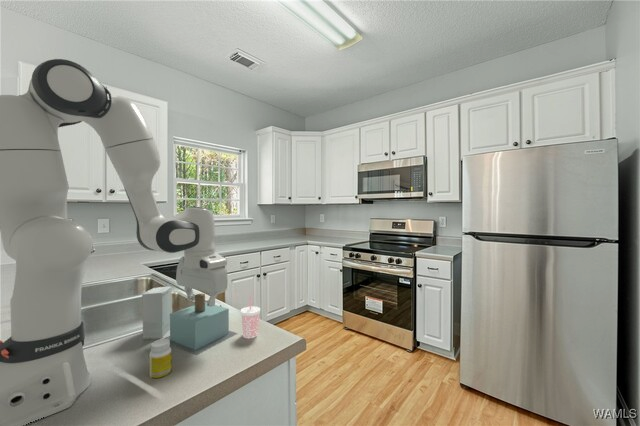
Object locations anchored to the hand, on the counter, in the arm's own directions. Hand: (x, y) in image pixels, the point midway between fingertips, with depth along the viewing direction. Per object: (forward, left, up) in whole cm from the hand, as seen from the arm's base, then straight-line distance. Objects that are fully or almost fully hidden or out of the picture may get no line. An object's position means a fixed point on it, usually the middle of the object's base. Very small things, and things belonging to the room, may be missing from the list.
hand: (200, 303), depth 87 cm
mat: (0, 0, -11) cm, 11 cm away
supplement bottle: (-17, -8, -12) cm, 22 cm away
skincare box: (-5, +14, -12) cm, 19 cm away
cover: (0, 0, -10) cm, 10 cm away
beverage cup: (+9, -12, -12) cm, 19 cm away
